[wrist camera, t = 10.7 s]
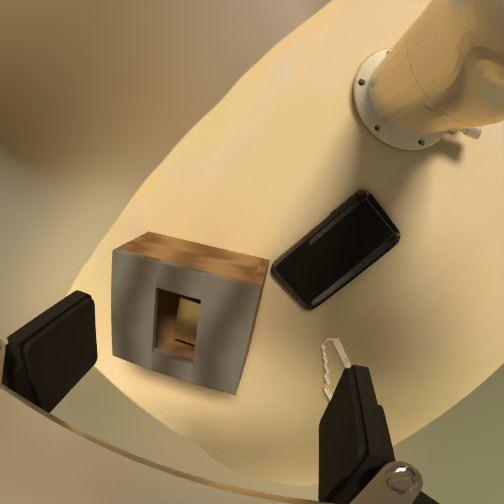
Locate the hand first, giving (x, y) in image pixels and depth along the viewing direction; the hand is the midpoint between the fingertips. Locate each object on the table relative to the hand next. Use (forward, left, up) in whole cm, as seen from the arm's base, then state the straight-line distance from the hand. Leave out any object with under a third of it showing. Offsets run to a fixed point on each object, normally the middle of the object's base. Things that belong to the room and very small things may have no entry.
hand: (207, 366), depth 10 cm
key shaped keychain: (-14, +19, -29) cm, 38 cm away
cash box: (+8, +12, -28) cm, 32 cm away
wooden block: (+8, +14, -28) cm, 32 cm away
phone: (-8, +2, -29) cm, 30 cm away
